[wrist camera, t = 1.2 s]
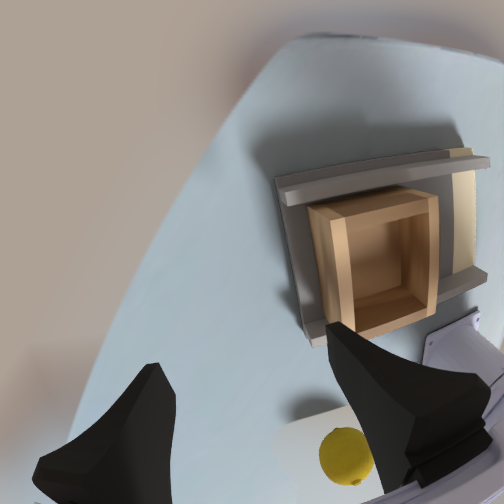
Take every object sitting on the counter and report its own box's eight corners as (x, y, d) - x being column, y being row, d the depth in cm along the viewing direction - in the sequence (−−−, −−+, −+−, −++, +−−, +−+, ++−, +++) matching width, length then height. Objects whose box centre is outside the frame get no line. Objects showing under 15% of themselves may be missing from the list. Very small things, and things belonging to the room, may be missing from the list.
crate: (410, 284, 21) (441, 310, 17) (322, 312, 21) (343, 347, 17) (405, 184, 19) (444, 194, 14) (306, 205, 18) (330, 220, 14)
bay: (466, 274, 23) (485, 287, 20) (303, 331, 23) (313, 354, 20) (464, 147, 19) (488, 149, 16) (273, 177, 19) (282, 182, 16)
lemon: (313, 447, 29) (330, 501, 21) (309, 422, 27) (329, 484, 19) (358, 433, 29) (381, 484, 21) (359, 406, 27) (387, 463, 19)
